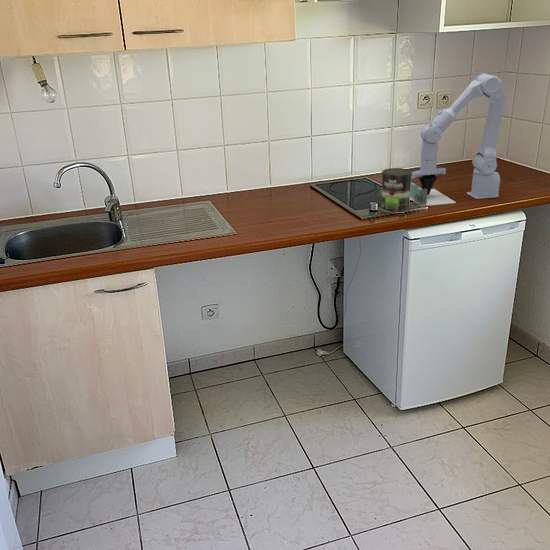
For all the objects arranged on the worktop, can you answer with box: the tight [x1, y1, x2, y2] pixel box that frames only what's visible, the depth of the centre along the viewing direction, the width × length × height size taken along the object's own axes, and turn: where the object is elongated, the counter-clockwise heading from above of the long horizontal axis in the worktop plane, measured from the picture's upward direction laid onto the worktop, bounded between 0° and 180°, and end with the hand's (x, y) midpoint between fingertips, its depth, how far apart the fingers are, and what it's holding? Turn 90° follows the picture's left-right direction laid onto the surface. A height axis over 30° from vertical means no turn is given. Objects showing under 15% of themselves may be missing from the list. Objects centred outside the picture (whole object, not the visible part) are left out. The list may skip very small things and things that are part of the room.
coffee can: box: [380, 167, 413, 214], centre depth 207 cm, size 10×10×14 cm
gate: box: [410, 181, 422, 202], centre depth 220 cm, size 2×11×4 cm, turn 10°
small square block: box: [414, 187, 428, 205], centre depth 215 cm, size 3×6×6 cm, turn 10°
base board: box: [410, 188, 457, 207], centre depth 222 cm, size 15×19×1 cm
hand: (426, 194), depth 221 cm, fingers closed
